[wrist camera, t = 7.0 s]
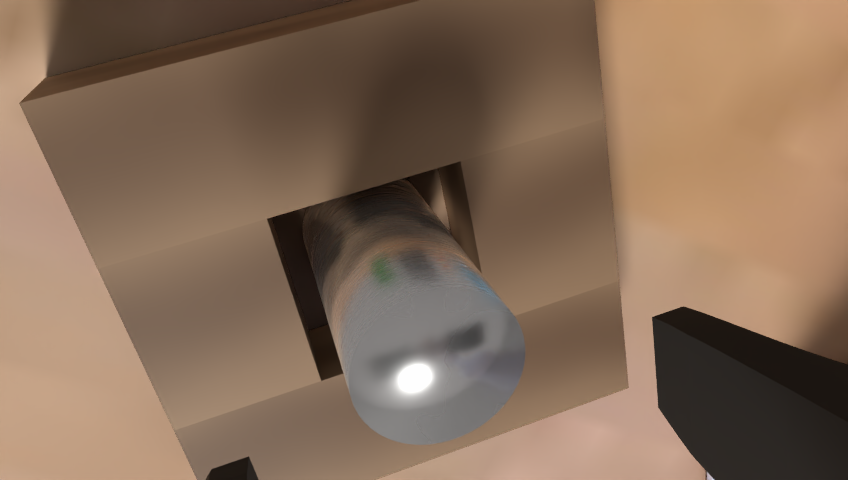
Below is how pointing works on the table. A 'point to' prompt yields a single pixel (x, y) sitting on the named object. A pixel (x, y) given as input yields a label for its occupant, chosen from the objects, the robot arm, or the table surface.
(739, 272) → the table surface
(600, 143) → the socket block
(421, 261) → the long pin
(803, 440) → the robot arm
